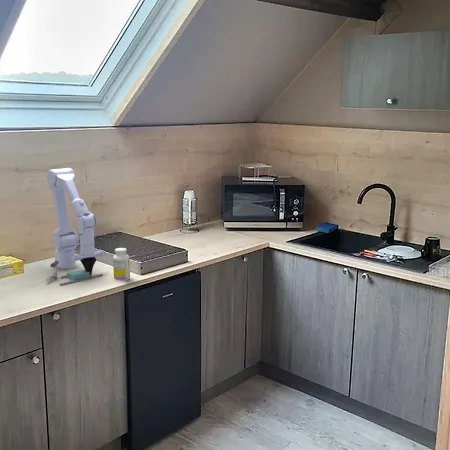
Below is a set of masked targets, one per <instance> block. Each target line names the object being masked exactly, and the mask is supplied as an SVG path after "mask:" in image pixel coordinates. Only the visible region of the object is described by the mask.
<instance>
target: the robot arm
mask: <svg viewBox="0 0 450 450" xmlns="http://www.w3.org/2000/svg"><path fill="white" fill-rule="evenodd" d="M75 177H76V175H75V172H74V170H73V168H71V167H66V168H55V169H53V168H51V169H48V172H47V174H46V178H47V179H46V180H47V184H48V185H47V186H48V189H49V190H51V195H52V201H53V206H54V211H55V217H56V218H55V219H56V223H57V228H56V229H55V230H54V231H53V232H52V245H53V247H54V249H55V250H54V251H55V252H54V262H55V261H59V264H58V265H57V268H58V269H60V270H69V269H74V268H76V266H77V265H76V263H77V261H80V262H81V264H82V266H83V268H84V270H85V271H88V272H89V273H90V276H92V274H93V269H94V265H95V264H96V262H97V257H99V256H102V257H103V256H105V251H104V250H102V249H99V250H95V249H96V248H95V247H96V246H95V231H94V230H95V229H94V228H95V227H96V226H97V219H96V216H95V214H93V213H92V212H91V211H89V208H88V206H87V204H86V203H85V200H84V199H82V198H80V195H79V193H78V189H77V187H76V184H75ZM65 192H66V194H67V196H68V198H69V200H70V201H71V204H70V207H71V210H72V211H73V213H74V215H75V218H76V221H75V223H76V227H77V230H76V228H74V227H72V226H71V224H70V218H69V213H68V207H67V200H66V194H65ZM77 232H78V233H77ZM78 234H79V236H78ZM78 245H80V247H79V250H80V253H78V254H76V249H77V247H78Z"/></svg>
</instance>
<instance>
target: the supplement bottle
mask: <svg viewBox="0 0 450 450" xmlns="http://www.w3.org/2000/svg"><path fill="white" fill-rule="evenodd" d="M114 253H115V254H114V255H113V257H112V264H113V265H112V266H113V270H112V271H113V278H114V279H115V280H126V281H128V280H129V279H130V278H131V269H130V268H131V266H130V264H131V263H130V256H129V255H128V254H127V248H126V247H117V248H115V249H114Z"/></svg>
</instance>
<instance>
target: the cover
mask: <svg viewBox="0 0 450 450" xmlns="http://www.w3.org/2000/svg"><path fill="white" fill-rule="evenodd" d="M66 275H67V278H66V279H69V280H70V281H73V280H77V279H82V278H86V277H90V276H91V275H90V273H89V272H88V271H85V269H83V268H82V269H81V268H80V269H76V270H73V271H67V272H66Z"/></svg>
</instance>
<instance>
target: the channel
mask: <svg viewBox="0 0 450 450" xmlns="http://www.w3.org/2000/svg"><path fill="white" fill-rule="evenodd" d="M100 277H103V273H99V274H95V275H90V277H86V278H82V279H77V280H69V281H65V282H61V283H59V286H60V287H64V286H68V285H71V284H76V283H79V282H84V281H88V280H91V279H96V278H100ZM60 278H61V279H68V278H67V274H65V275H62V276H61V275H60Z"/></svg>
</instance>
